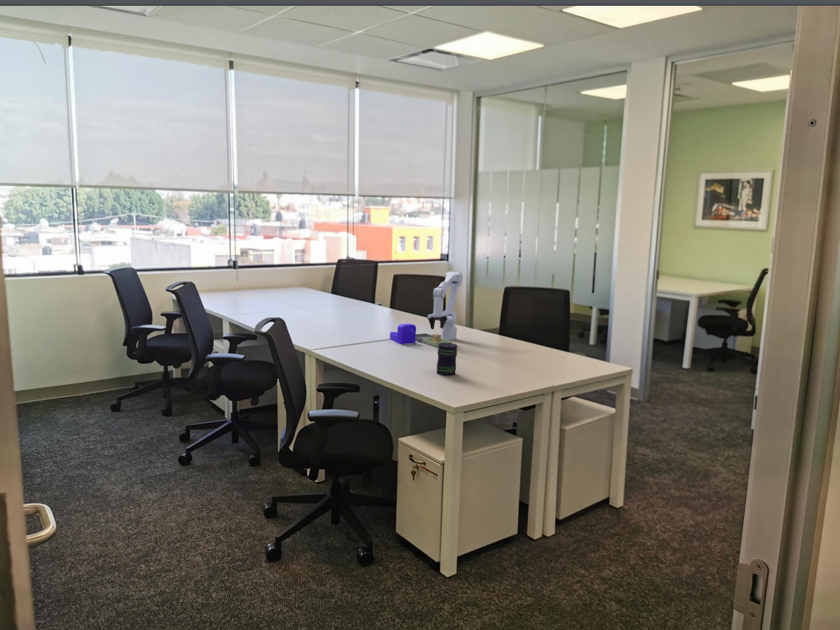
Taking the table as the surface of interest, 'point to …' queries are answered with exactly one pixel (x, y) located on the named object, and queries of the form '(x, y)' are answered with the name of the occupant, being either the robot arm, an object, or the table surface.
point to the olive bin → (429, 342)
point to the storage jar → (446, 359)
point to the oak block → (436, 338)
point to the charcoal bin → (422, 337)
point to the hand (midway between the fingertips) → (437, 328)
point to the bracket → (404, 334)
